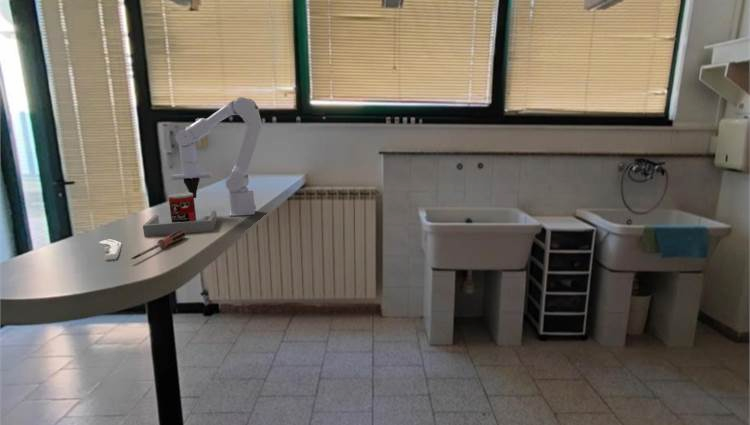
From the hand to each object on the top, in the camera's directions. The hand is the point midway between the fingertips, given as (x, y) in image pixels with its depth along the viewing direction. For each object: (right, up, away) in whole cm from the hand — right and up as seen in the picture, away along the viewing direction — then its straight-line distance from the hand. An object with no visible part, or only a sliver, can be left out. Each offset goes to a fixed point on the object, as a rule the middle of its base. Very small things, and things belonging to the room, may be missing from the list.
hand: (194, 197), depth 157 cm
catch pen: (+4, -11, -17) cm, 20 cm away
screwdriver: (+9, -17, -41) cm, 45 cm away
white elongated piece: (-9, -16, -37) cm, 42 cm away
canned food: (+3, -10, -14) cm, 18 cm away
